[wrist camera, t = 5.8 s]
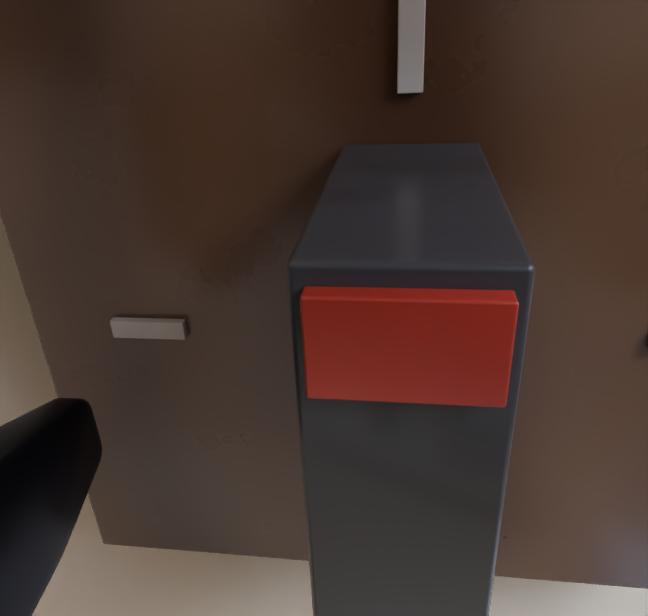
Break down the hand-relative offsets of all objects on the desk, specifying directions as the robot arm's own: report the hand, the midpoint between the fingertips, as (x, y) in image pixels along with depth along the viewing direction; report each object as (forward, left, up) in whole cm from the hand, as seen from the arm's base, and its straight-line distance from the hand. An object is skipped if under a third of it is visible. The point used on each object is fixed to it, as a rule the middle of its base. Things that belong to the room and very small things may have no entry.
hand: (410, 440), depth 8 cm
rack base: (0, 0, -6) cm, 6 cm away
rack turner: (0, 0, -3) cm, 3 cm away
